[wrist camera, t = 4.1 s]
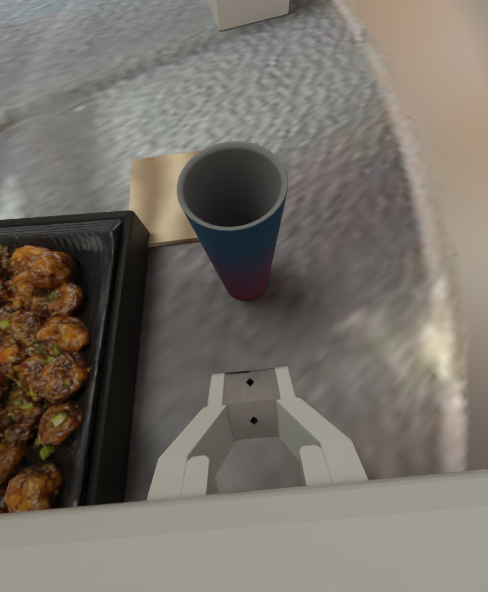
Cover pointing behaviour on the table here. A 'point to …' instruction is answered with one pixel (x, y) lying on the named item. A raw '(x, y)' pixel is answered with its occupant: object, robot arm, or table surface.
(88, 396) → the food platter
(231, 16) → the gable box
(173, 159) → the wooden board
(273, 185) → the cup
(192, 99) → the table surface
